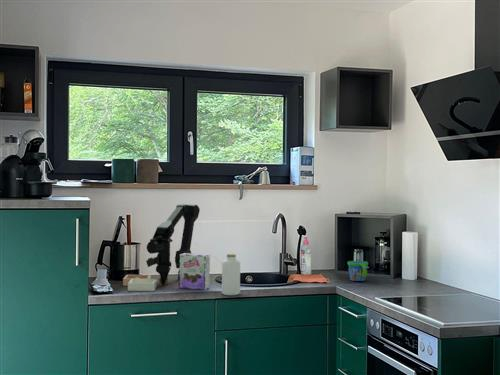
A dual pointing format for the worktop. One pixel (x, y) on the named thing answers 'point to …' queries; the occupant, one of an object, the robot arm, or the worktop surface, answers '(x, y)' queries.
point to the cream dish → (142, 285)
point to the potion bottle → (231, 275)
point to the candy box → (194, 271)
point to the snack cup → (357, 270)
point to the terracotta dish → (129, 277)
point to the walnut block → (165, 281)
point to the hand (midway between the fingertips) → (163, 283)
